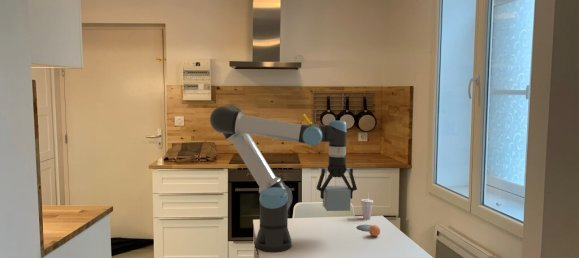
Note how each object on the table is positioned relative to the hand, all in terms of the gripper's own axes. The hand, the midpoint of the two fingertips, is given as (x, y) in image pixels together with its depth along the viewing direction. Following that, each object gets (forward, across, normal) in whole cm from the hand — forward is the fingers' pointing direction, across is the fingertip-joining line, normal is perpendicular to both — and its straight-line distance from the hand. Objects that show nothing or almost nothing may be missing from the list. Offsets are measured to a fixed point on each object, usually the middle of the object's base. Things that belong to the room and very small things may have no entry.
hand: (336, 205), depth 181 cm
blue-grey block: (+1, 0, 0) cm, 1 cm away
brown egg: (+12, +18, +2) cm, 22 cm away
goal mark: (+14, +18, +14) cm, 27 cm away
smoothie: (+15, +22, +30) cm, 40 cm away
